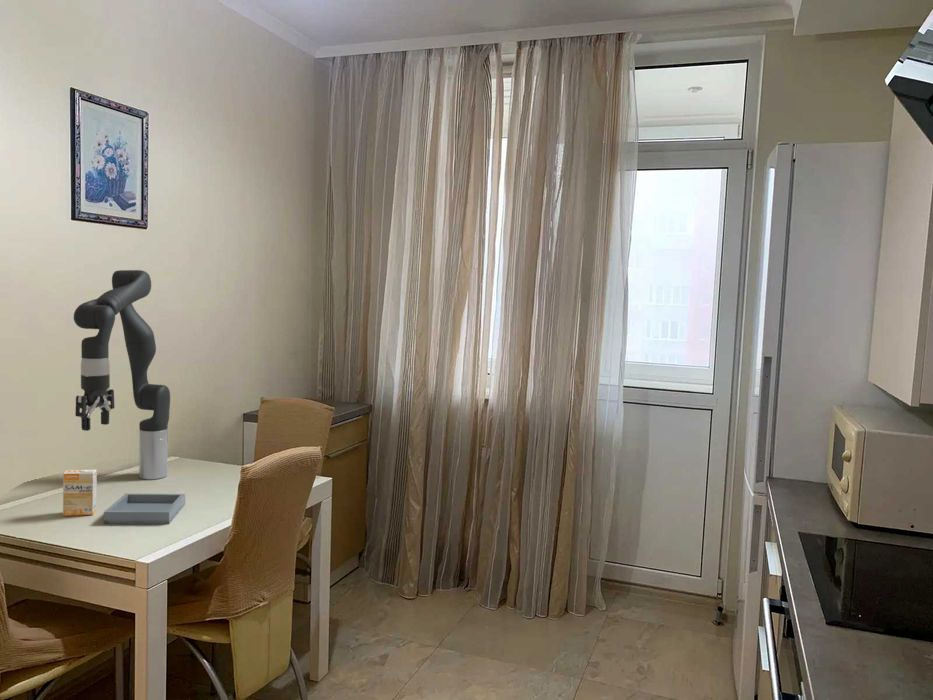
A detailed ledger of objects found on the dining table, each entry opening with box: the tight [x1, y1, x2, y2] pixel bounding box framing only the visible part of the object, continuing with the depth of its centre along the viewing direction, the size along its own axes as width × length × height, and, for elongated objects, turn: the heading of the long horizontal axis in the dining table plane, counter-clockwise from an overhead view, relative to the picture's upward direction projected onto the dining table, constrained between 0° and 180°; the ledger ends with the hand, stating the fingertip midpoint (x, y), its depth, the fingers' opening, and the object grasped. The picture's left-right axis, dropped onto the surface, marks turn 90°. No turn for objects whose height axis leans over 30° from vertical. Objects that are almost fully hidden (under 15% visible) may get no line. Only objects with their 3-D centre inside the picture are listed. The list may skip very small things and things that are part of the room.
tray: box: [103, 492, 186, 525], centre depth 215 cm, size 18×18×4 cm
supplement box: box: [62, 469, 98, 517], centre depth 212 cm, size 8×5×13 cm, turn 105°
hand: (95, 427), depth 209 cm, fingers open, 8 cm apart
